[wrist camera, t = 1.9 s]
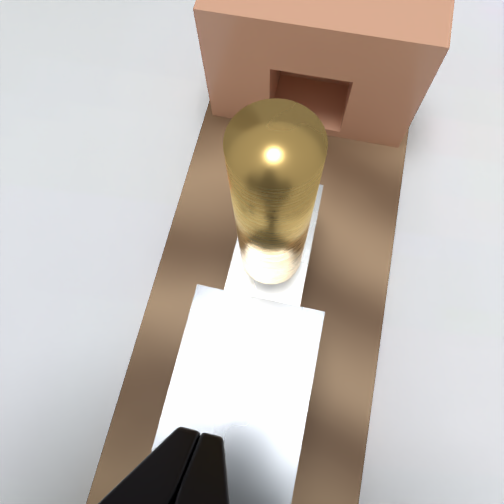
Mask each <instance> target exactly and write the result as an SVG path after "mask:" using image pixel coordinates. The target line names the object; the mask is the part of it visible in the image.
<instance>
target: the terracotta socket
mask: <svg viewBox="0 0 504 504" xmlns="http://www.w3.org/2000/svg"><path fill="white" fill-rule="evenodd" d="M453 9H454V0H196V2H195V5H194V8H193V11H194V17H195V22H196V28H197V33H198V39H199V44H200V49H201V55H202V60H203V66H204V71H205V77H206V82H207V88H208V93H209V99H210V104H211V110H212V115H215V116H220V117H226V118H233V117H234V116H235V114H236V113H237V112H239V111H240V110H241V109H242V108H244V107H246V106H247V105H249V104H251V103H254V102H257V101H260V100H264V99H272V98H280V99H287V100H291V101H295V102H297V103H300V104H302V105H304V106H305V107H307V108H309V109H310V110H311V111H312V112H314V113H315V114H316V115H317V117H318V118H319V119H320V120H321V122H322V124H323V125H324V127H325V130H326V133H327V135H329V136H334V137H340V138H346V139H351V140H357V141H363V142H368V143H374V144H380V145H386V146H391V147H397V148H398V147H399V145H400V143H401V141H402V139H403V138H404V136H405V134H406V132H407V130H408V128H409V126H410V124H411V122H412V120H413V118H414V116H415V114H416V112H417V110H418V108H419V106H420V104H421V102H422V100H423V98H424V96H425V95H426V93H427V91H428V89H429V87H430V85H431V83H432V81H433V79H434V77H435V75H436V73H437V71H438V69H439V67H440V65H441V63H442V61H443V59H444V57H445V55H446V54H447V52H448V50H449V47H450V37H451V28H452V19H453Z"/></svg>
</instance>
